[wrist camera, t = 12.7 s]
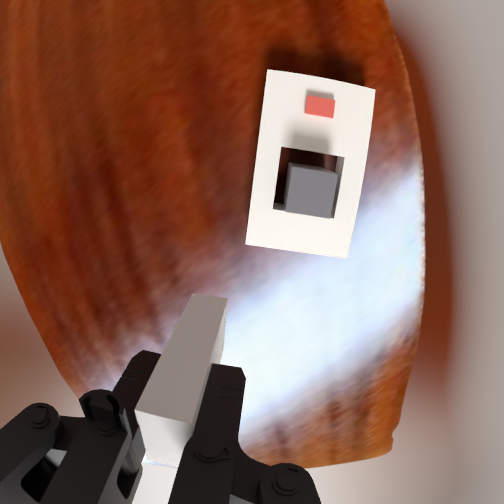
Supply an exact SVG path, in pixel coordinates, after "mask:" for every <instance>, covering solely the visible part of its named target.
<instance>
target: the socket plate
mask: <svg viewBox="0 0 504 504" xmlns="http://www.w3.org/2000/svg"><path fill="white" fill-rule="evenodd" d="M374 97H375V90H374V89H371V88H367V87H363V86H359V85H355V84H350V83H346V82H341V81H337V80H332V79H327V78H321V77H316V76H310V75H304V74H298V73H291V72H284V71H276V70H268V69H267V77H266V85H265V92H264V100H263V108H262V116H261V123H260V131H259V139H258V147H257V155H256V163H255V171H254V179H253V187H252V195H251V203H250V211H249V220H248V228H247V236H246V245H253V246H260V247H268V248H275V249H282V250H289V251H296V252H303V253H310V254H317V255H325V256H332V257H339V258H346V259H347V255H348V251H349V246H350V242H351V237H352V233H353V228H354V223H355V219H356V214H357V209H358V204H359V198H360V193H361V188H362V182H363V176H364V170H365V164H366V158H367V152H368V145H369V138H370V131H371V123H372V115H373V106H374ZM281 147H287V148H294V149H300V150H307V151H313V152H318V153H324V154H330V155H335V156H337V162H336V168H335V173H336V174H338V178H337V184H336V189H335V195H334V201H333V206H332V212H331V217H330V219H328V218H322V217H315V216H309V215H302V214H296V213H289V212H285V205H284V204H280V203H274V196H275V189H276V181H277V174H278V167H279V159H280V152H281Z"/></svg>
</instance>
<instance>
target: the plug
mask: <svg viewBox="0 0 504 504" xmlns="http://www.w3.org/2000/svg"><path fill="white" fill-rule="evenodd" d="M337 178H338V174H336V173H334V172H332V171H330V170H328V169H326V168H323V167H317V166H311V165H305V164H299V163H292V162H288V169H287V176H286V183H285V190H284V197H283V199H284V205H285V212H289V213H296V214H302V215H309V216H315V217H322V218H328V219H330V217H331V212H332V206H333V201H334V195H335V189H336V184H337Z"/></svg>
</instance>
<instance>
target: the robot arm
mask: <svg viewBox="0 0 504 504" xmlns="http://www.w3.org/2000/svg"><path fill="white" fill-rule="evenodd" d="M227 303H228V298H221V297H215V296H208V295H202V294H196V293H193V294H192V296H191V298H190V300H189V301H188V303H187V305H186V307H185V309H184V311H183V313H182V315H181V317H180V319H179V321H178V323H177V325H176V327H175V329H174V331H173V333H172V335H171V337H170V338H169V340H168V342H167V344H166V346H165V348H164V350H163V352H162V354H159V353H154V352H150V351H146V350H142V351H141V352H139V353H138V354H137V355H135V356H134V357H132V359H131V361H130V362H129V364H128V366H127V368H126V369H125V371H124V372H123V374H122V377H120V379H119V381H118V383H117V384H116V386H115V388H114V389H113V391H112V392H111V391H109V390H103V389H98V390H92V391H89V392H87V393H85V394H84V395H83V396H82V397H81V398H80V399H79V402H80V405H81V407H82V410H83V412H84V415H85V417H68V416H60V415H59V414H58V412H57V411H56V410H55V408H54V407H53V406H50V405H49V404H45V403H35V404H31V405H30V406H28V407H26V408H25V409H24V410H23V411H21V413H19V414H18V415H17V416H15V417H14V418H13V419H12V420H11V421H10V422H8V423H7V424H6V425H5V426H4V427H3V428H1V429H0V504H132V501H133V498H134V495H135V493H136V490H137V487H138V484H139V481H140V479H141V475H142V469H143V468H142V465H141V462H142V460H143V457H144V454H146V457H147V460H150V461H154V462H157V463H161V464H165V465H169V466H173V467H178V470H177V474H176V477H175V481H174V484H173V488H172V492H171V495H170V498H169V502H168V504H321V501H320V498H319V496H318V493H317V490H316V488H315V484H314V482H313V479H312V477H311V476H310V474H309V473H308V472H307V471H306V470H305V469H303V468H302V467H301V466H298V465H295V464H292V463H280V464H276V465H273V466H269V465H266V464H263V463H261V462H258V461H256V460H254V459H252V458H250V457H249V456H247V455H246V454H245V453H244V452H243V450H242V449H241V448H240V445H239V442H238V433H239V426H240V419H241V411H242V404H243V396H244V389H245V381H246V378H245V375H244V373H243V371H242V368H240V367H233V366H227V365H221V364H220V360H221V356H222V352H223V346H224V335H225V324H226V314H227Z"/></svg>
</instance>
